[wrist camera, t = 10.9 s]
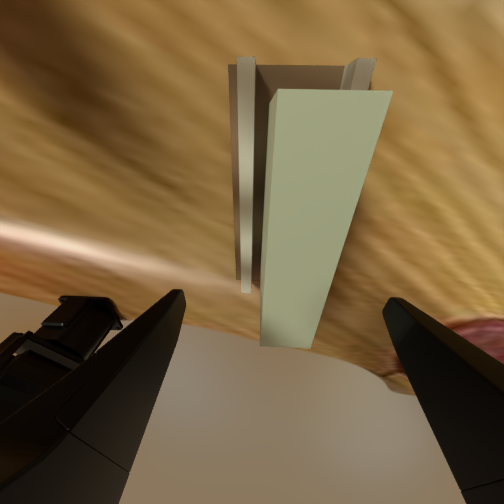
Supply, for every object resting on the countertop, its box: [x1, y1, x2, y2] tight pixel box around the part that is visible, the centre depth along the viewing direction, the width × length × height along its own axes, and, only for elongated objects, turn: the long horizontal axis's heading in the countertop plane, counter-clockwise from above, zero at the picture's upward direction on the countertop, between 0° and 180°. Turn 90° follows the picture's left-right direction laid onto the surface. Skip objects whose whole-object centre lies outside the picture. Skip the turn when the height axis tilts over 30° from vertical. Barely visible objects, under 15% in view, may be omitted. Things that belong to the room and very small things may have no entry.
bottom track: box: [228, 57, 377, 293], centre depth 17 cm, size 18×9×3 cm, turn 179°
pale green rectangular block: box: [260, 89, 393, 348], centre depth 14 cm, size 14×4×9 cm, turn 179°
